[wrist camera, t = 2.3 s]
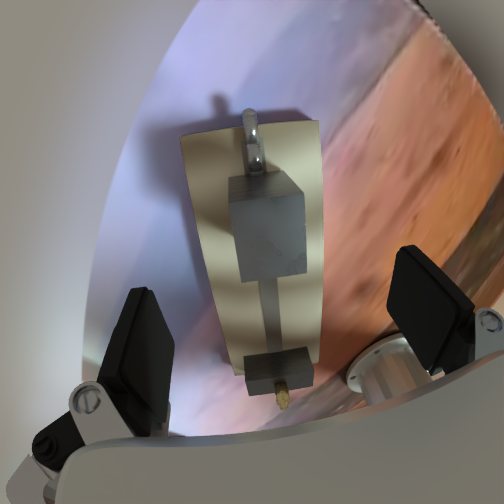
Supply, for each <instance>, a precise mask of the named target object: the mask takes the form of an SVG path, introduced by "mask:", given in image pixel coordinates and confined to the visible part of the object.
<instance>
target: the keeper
mask: <svg viewBox="0 0 504 504" xmlns="http://www.w3.org/2000/svg"><path fill="white" fill-rule="evenodd" d="M243 359H244V371H245V382H246V386H247V390H248V394H249V396H255V395H262V394H269V393H275V395H276V401H277V404H278V405H279V408H280V409H281V410H286V409H287V408H288V404H289V403H290V396H289V391H288V390H294V389H300V388H305V387H310V386H313V378H314V369H313V365H312V362H311V359H310V355H309V352H308V349H307V346H305V347H300V348H294V349H289V350H283V351H281V352H274V353H263V354H256V355H249V356H243Z"/></svg>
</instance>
